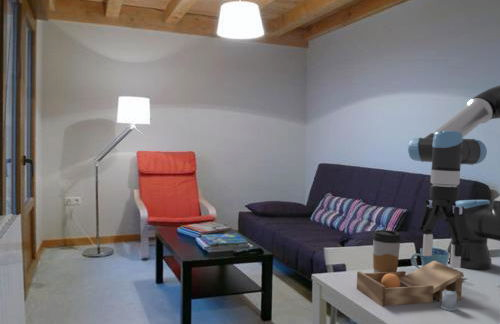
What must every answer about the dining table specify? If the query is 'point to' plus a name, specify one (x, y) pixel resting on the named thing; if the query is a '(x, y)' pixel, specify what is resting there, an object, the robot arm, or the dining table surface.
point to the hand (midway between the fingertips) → (440, 261)
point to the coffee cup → (385, 251)
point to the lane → (412, 285)
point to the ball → (390, 281)
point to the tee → (449, 300)
